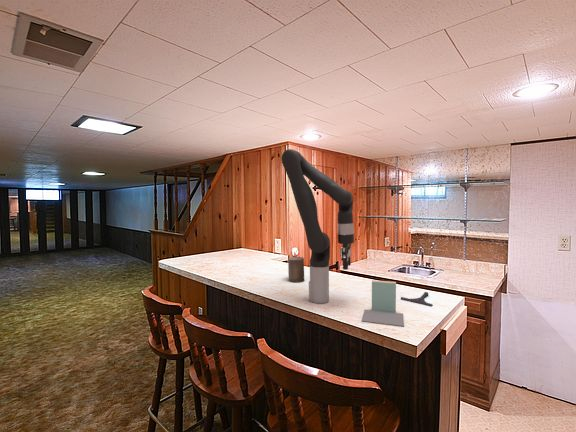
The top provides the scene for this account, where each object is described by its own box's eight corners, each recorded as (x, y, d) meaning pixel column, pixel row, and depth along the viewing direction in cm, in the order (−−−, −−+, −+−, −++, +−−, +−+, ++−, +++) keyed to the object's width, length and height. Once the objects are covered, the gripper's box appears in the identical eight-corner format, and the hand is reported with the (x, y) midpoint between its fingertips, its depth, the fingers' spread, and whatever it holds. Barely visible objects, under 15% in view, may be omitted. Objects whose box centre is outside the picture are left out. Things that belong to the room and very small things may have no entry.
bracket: (442, 300, 147) (442, 294, 147) (431, 308, 137) (431, 302, 137) (412, 294, 157) (412, 288, 157) (400, 301, 147) (400, 295, 147)
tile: (371, 310, 133) (371, 281, 132) (372, 308, 135) (372, 280, 135) (395, 313, 130) (395, 283, 129) (395, 311, 132) (395, 281, 131)
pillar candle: (307, 281, 181) (306, 256, 180) (292, 283, 177) (292, 258, 176) (299, 277, 190) (299, 254, 189) (285, 279, 185) (285, 255, 185)
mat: (361, 321, 121) (361, 320, 121) (364, 310, 133) (364, 309, 133) (404, 326, 116) (404, 325, 116) (403, 314, 128) (403, 313, 128)
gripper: (340, 231, 149) (341, 264, 149) (334, 234, 135) (336, 270, 136) (355, 231, 146) (356, 264, 147) (351, 234, 133) (353, 271, 133)
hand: (346, 267), depth 141 cm, fingers open, 8 cm apart
